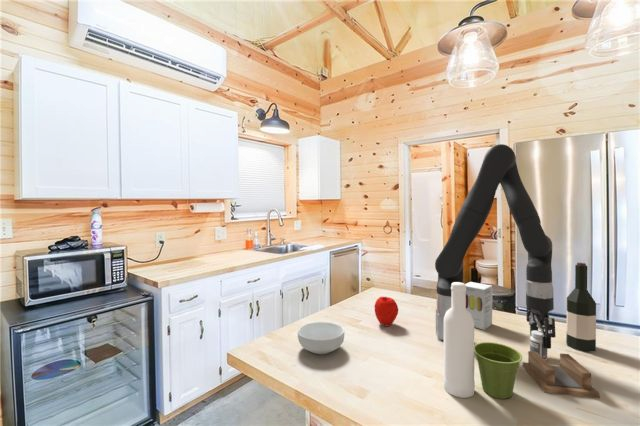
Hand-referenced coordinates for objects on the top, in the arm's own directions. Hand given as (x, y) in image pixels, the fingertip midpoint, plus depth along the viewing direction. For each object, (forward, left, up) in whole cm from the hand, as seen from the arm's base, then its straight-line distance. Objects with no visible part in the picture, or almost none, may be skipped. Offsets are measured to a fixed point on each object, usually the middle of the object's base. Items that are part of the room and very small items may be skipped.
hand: (540, 342), depth 104 cm
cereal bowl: (-74, -7, -5) cm, 74 cm away
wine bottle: (+17, +11, -5) cm, 21 cm away
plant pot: (-21, -23, -5) cm, 31 cm away
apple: (-51, +20, -5) cm, 55 cm away
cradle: (-2, -14, -5) cm, 15 cm away
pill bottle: (-1, 0, -5) cm, 5 cm away
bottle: (-31, -24, -5) cm, 39 cm away
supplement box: (-13, +27, -5) cm, 30 cm away
